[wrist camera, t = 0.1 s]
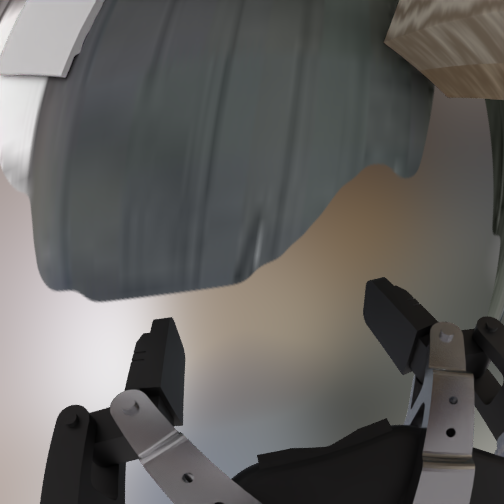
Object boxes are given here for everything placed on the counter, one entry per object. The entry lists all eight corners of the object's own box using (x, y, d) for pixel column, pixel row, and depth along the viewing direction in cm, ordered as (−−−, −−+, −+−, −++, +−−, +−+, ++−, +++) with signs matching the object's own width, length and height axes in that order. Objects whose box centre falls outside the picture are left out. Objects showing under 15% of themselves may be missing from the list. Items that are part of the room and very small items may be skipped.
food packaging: (54, -24, 18) (5, 76, 24) (47, -31, 15) (-7, 74, 21) (125, -28, 22) (70, 79, 28) (121, -38, 19) (61, 75, 25)
